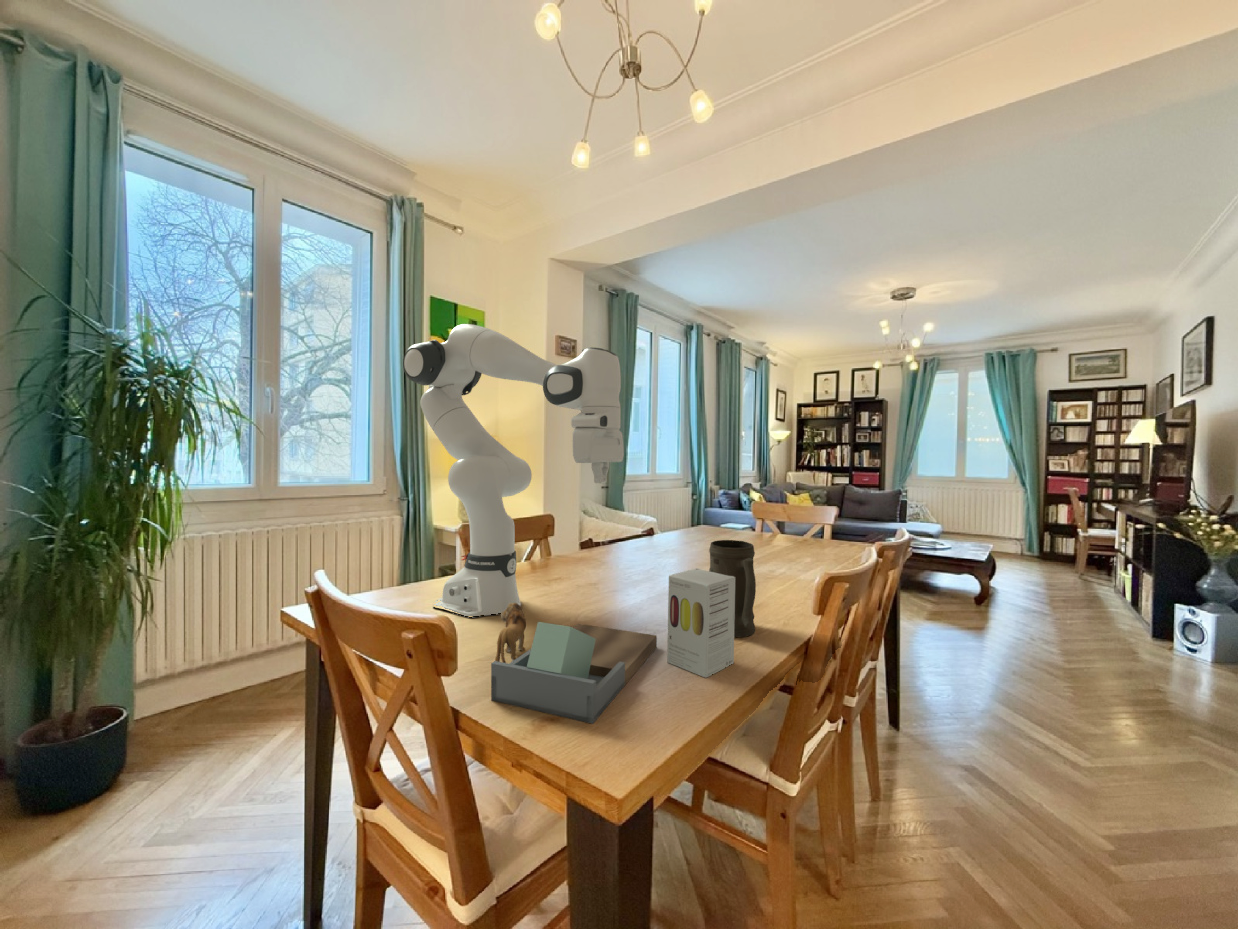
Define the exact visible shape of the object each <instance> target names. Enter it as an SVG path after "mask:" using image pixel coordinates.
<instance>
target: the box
mask: <svg viewBox="0 0 1238 929" xmlns="http://www.w3.org/2000/svg"><path fill="white" fill-rule="evenodd" d="M530 652H531V648H530V649H528V650H527V651H526V652H524V653H523V654H521V655H519V657H516V659H515V660H514V661H512V660H511V662H509V663H503V662H502V661H500V662H498V661H493V662H491V664H490V669H491V671H490V681H491V685H490V688H491V689H490V690H491V691H490V692H491V693H490V694H491V696H490V700H491V701H493V702H497V703H501V704H506V705H509V706H510V705H511V706H514V707H518V708H523V709H527V710H532V711H536V712H541V713H545V714H548V715H553V716H558V717H563V718H566V719H570V720H575V721H580V722H584V723H588V724H594V723H595V722H596V721H597V719H599V717H600V716H601V715H602V714H603V713H604V711H605V710H606V709H607V708H608V706H609V705H610V704H611V703H612V702H613V700H614V699H615V698H616V697H617V696H618V695H619V693H620V692H621V691H622V689H624V687H625V686H626V685H625V662H619V663H618V664H617V665H616V666H615V667H614V668H613V669H612V670H611V671H610V672H609V673H608V674H607V675H606V676H605V677H602V676H597V675H591V674H589V675H588V679H585V678H580V677H575V676H570V675H564V674H559V673H554V672H549V671H544V670H539V669H534V668H528V667H527V664H528V660H529V656H530Z"/></svg>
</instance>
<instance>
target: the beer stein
mask: <svg viewBox="0 0 1238 929" xmlns="http://www.w3.org/2000/svg"><path fill="white" fill-rule="evenodd" d="M709 545H710V547H709V551H708V553H709V570H708V571H709V572H714V573H719V574H723V575H727V576H733V577H735V620H734V638H745V637H749V636H751V635H753V634H754V633H755V631H756V626H755V622H754V619H755V614H754V603H755V599H756V587H757V585H756V582H757V581H756V575H755V569H754V557H755V554H756V553H755V547H754V544H753V543H751V542H748V541H744V540H736V539H735V540H734V539H733V540H732V539H720V540H714V541H712V542H710V544H709Z"/></svg>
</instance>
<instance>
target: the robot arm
mask: <svg viewBox="0 0 1238 929" xmlns="http://www.w3.org/2000/svg"><path fill="white" fill-rule="evenodd" d="M402 365H403V371H404V373H405V375H406V377H407V378H408V379H409V381H411V382H413V383H416V384H418V385H422V386H428V389H427V390H425V392H423V394H422V395H421V398H420V402H419V403H420V408H421V411H422V413H423V416H424V417H425V420H426V421H427V423H428V425H429V427H430V429H431V430H432V431H433V433H434V435H436V437H437V439H438V440H439V441H440V442H441V444H442V446H443V447H444V449H445V450H446V451H447V453H448V454H449V455H450V456H451V457H452V458H454V459H456V461H454V463H453V464H452V465H451V467H450V469H449V471H448V476H447V480H448V481H447V482H448V486H449V488H450V490H451V492H452V493H453V494H454V496H456V497H457V498H458V499H459V500H460V502H461V503H462V505H463V507H464V509H465V513H466V515H467V518H468V525H469V542H470V544H469V545H470V546H469V547H470V550H469V552H468V553H467V554H465V555H461V556H460V557H461V558H462V559H460V561H465V562H464V566H463V567H462V568H461V569H460V570H459V571H458V572H456V573H455V574H454V575H453V576H451V577H450V578H448V579H447V580H446V581H445V583H444V586H443V588H442V595H441V597H440V598H438V599H436V600H435V601H434V602H437V601H438V600H440V601H441V602H438V603H436V604H434V605H436V606H442V607H444V608H445V609H449V610H452V611H454V612H457V613H460V614H462V615H464V616H463V617H465V616H479V617H481V616H480V615H484V616H492V615H491V614H496V615H499V614H498V613H502V612H504V611H505V610H506V608H507V607H508V604H509V603H517V604H518V605H520V606H521V607H522V603H521V600H520V595H519V592H518V587H517V586H518V585H517V576H516V571H517V551H516V549H515V548H516V547H515V539H516V538H515V530H516V529H515V521H514V519H513V518H512V517H511V516H510V515H508V513H507V511H506V509H505V505H504V503H503V502H504V500H503V498H505V497H512V496H515V495H517V494H520V493H522V492H524V491H525V490H526V489H527V488H528V487H529V486H530V483H531V481H532V478H533V477H532V475H533V474H532V470H531V466H530V465H529V463H528V462H527V461H526V460H525V459H522V458H520V457H518V456H517V455H515V454H514V453H512V452H511V451H510V450H509V449H508V448H506V447H505V446H504V445H503V444H502V443H501V442H499V441H498V440H497V439H496V438H495V437H493V435H491V434H490V433H489V432H488V430H486V429H485V427H484V426H483V425H482V424H481V422H480V421H479V420H478V418H477V417H476V416H475V415H474V413H473V412H472V411H471V409H470V408H469V406H468V405H467V404H466V403H465V401H464V400H463V396H466V395H469V394H470V393H471V392H472V391H473V388H475V387H476V386H477V385H478V383H479V381H480V379H481V378H482V375H485V376H487V377H492V378H495V379H496V378H497V379H503V380H508V381H517V382H526V383H530V384H531V383H532V384H536V385H540V386H542V391H543V394H544V398H546V400H547V401H548V402H549V403H550V404H552V405H554V406H556V407H560V408H566V409H572V410H578V411H580V412H578V414H576V415H575V416H574V415H573V417H571V422H570V424H571V428H573V430H572V431H573V432H572V457H573V460H574V462H575V463H576V464H591V469H592V473H593V481H594V483H595V484H605V483H607V476H608V473H609V469H610V463H621V462H623V460H624V456H625V455H624V453H625V452H624V437H623V433H622V431H621V430H620V429H621V417H622V416H621V412H622V411H621V409H622V408H621V403H620V392H621V390H622V388H621V386H622V381H621V379H622V378H621V365H620V361H619V357H618V355H617V354H616V353H615V352H613V351H612V350H609V349H604V348H600V347H587V348H585V349H584V350H583V351H582V352H581V353H580V354H579V355H578V356H576V357H575V358H573V359H571V360H569V361H567V362H564V363H562V364H556V363H553V362H550V361H548V360H545V359H543V358H542V357H540V356H539V355H536V354H535V353H533V352H531V351H530V350H528V349H527V348H525V347H523V346H522V345H520V344H519V343H518V342H516V341H514V340H512V339H511V338H509V337H507V336H505V335H504V334H502V333H500V332H498V331H496V330H493V329H491V328H487V327H484V326H481V325H476V324H470V323H462V324H459V325H456V326H455V327H453V329H452V330H451V331H450V333H449V335H448V337H447V340H446V341H445V342H440V341H438V339H431V340H427V341H426V342H425V341H424V342H420V343H415V344H412V345H411V346H409V347H408V348H407V350H406V351H405V353H404V355H403V358H402Z"/></svg>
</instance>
